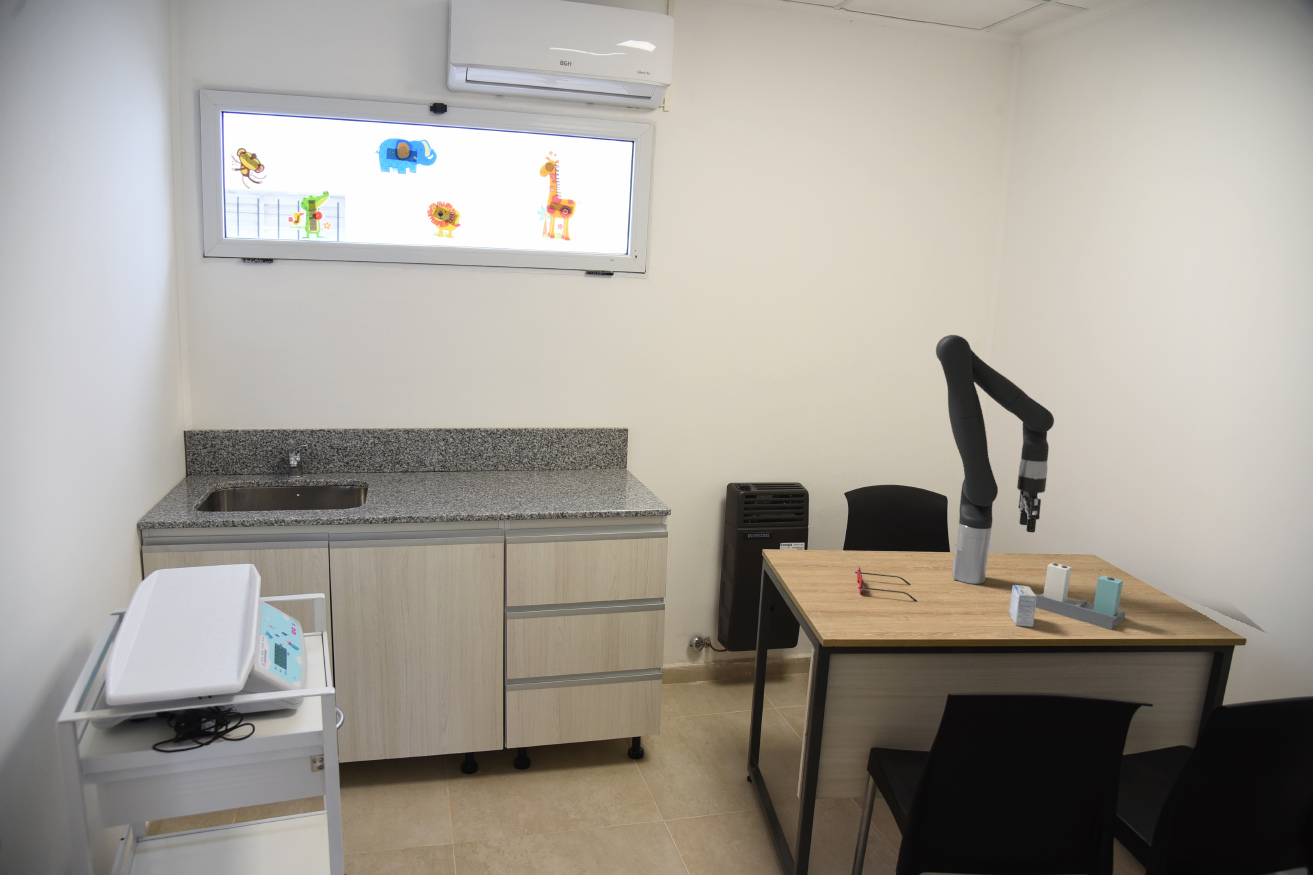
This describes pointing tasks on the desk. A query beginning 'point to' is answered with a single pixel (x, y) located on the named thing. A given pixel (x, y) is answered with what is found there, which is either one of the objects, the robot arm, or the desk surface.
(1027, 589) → the medicine box
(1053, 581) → the white battery block
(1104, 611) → the teal block
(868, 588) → the glasses
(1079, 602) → the gray divided tray
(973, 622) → the desk surface
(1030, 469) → the robot arm
